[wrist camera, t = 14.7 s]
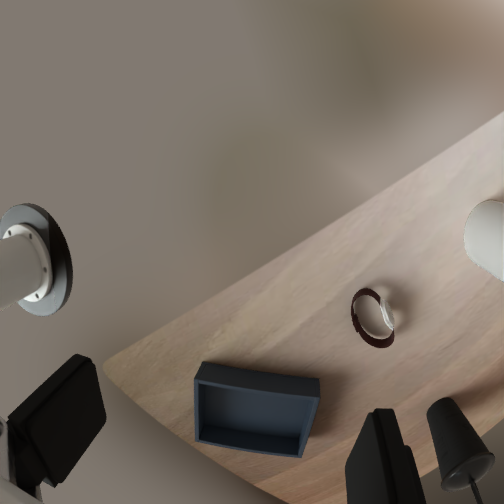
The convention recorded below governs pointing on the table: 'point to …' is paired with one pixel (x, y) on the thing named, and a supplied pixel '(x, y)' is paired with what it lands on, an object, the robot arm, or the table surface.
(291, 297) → the table surface
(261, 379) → the tray
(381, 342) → the watch
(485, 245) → the cup
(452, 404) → the drinking cup
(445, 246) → the table surface
